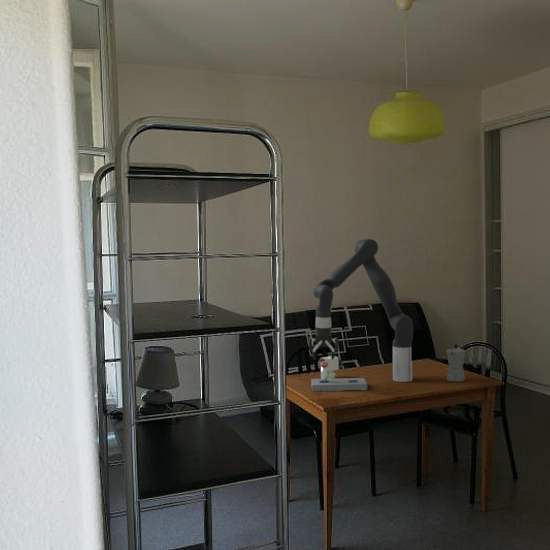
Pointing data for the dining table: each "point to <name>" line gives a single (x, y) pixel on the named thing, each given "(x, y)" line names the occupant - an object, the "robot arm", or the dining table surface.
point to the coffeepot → (455, 364)
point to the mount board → (339, 384)
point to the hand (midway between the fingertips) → (323, 359)
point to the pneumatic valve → (331, 365)
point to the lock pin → (323, 371)
